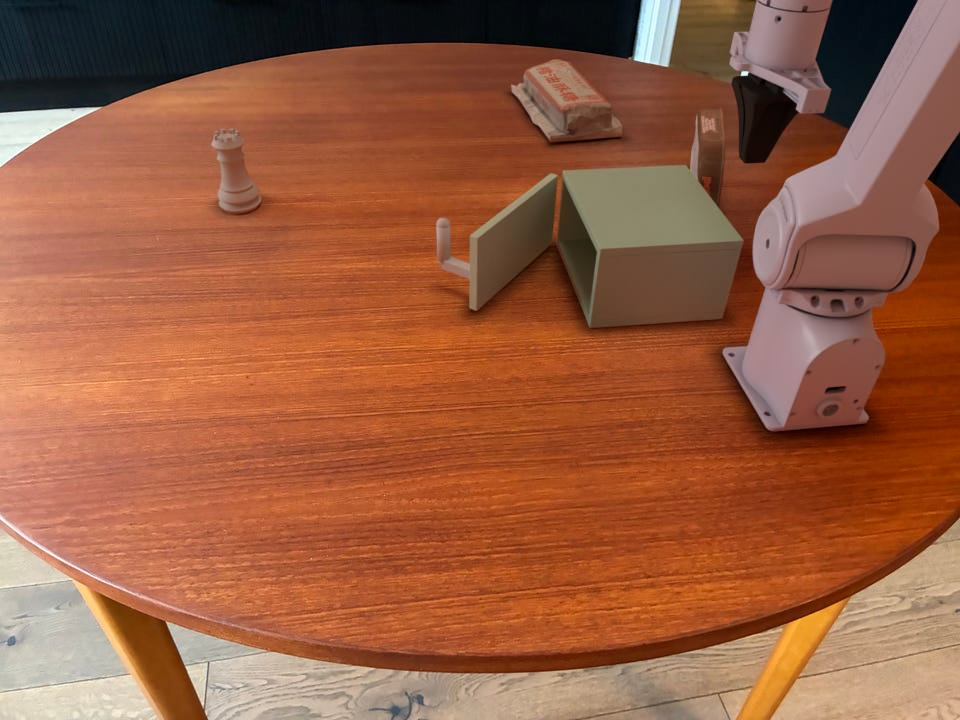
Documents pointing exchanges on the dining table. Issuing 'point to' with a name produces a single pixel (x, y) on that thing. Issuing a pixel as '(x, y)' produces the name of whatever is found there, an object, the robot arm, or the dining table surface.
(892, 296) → the dining table surface
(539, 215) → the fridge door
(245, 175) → the rook chess piece
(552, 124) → the packaged product
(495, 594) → the dining table surface
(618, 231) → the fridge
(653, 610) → the dining table surface
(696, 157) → the tin
